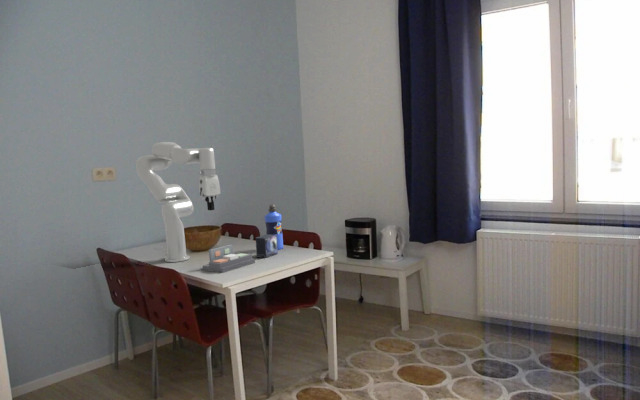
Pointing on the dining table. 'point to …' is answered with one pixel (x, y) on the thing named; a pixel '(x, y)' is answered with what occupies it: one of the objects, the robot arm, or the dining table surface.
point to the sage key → (242, 255)
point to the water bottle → (274, 225)
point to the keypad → (228, 265)
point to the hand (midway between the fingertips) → (211, 209)
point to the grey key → (230, 256)
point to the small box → (266, 246)
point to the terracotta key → (220, 260)
